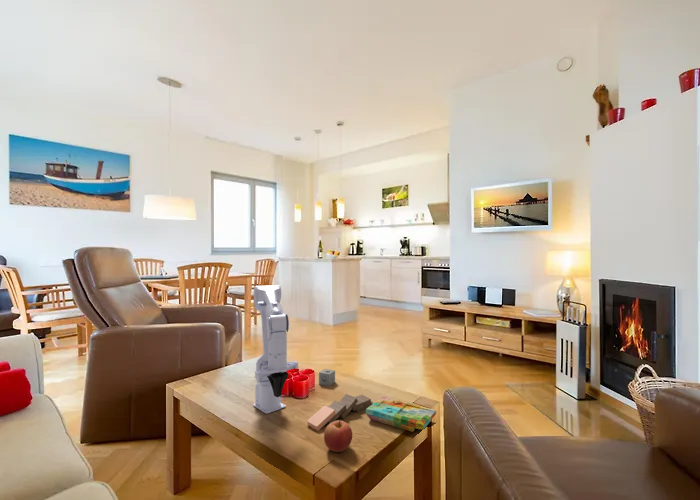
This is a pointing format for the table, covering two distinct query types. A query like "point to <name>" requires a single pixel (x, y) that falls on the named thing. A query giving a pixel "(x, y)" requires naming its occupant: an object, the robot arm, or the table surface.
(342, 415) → the domino
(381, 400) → the puzzle game
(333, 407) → the domino
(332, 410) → the domino
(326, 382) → the dice cube
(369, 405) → the domino
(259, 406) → the robot arm
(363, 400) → the domino
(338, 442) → the apple
